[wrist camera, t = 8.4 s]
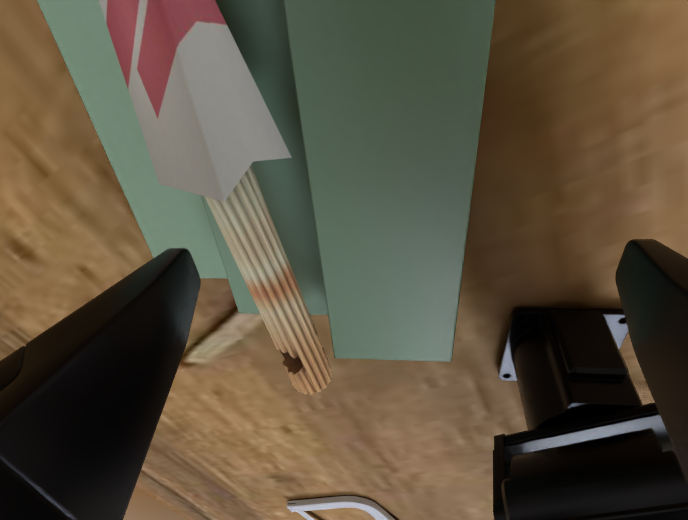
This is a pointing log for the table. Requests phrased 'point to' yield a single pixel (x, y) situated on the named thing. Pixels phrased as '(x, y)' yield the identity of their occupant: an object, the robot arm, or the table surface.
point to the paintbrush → (216, 151)
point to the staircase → (329, 156)
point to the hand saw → (338, 506)
